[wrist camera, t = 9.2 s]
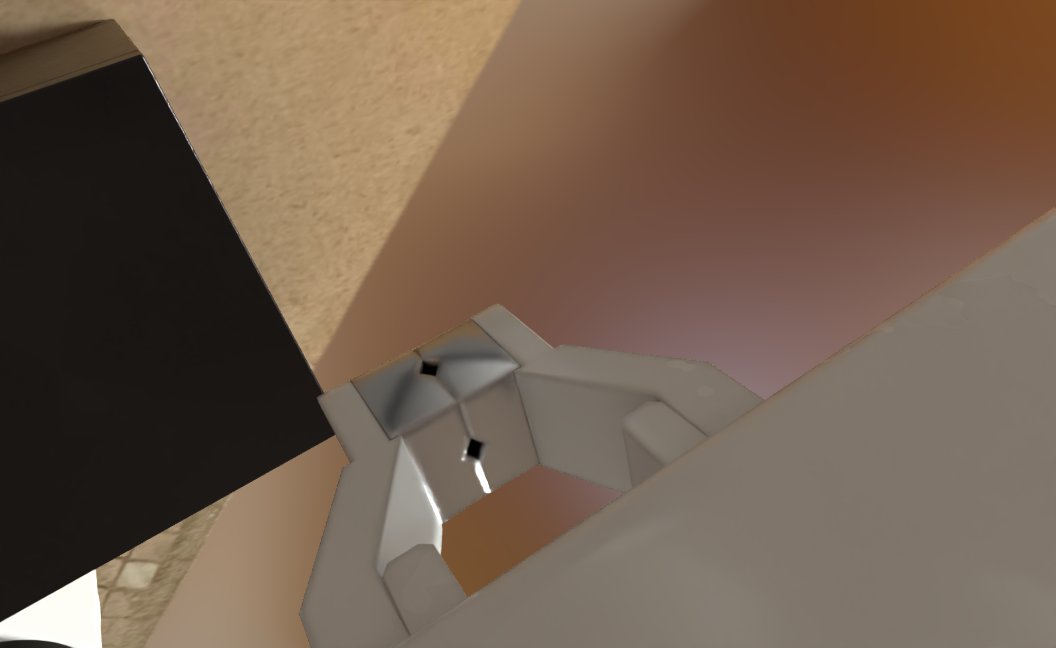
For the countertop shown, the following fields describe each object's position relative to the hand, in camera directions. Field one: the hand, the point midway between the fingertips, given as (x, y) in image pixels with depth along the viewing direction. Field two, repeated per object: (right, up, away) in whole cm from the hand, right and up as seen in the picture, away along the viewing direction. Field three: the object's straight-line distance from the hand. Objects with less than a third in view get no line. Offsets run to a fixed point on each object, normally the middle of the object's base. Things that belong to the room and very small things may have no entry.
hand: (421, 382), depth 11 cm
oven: (-21, +4, +21) cm, 30 cm away
